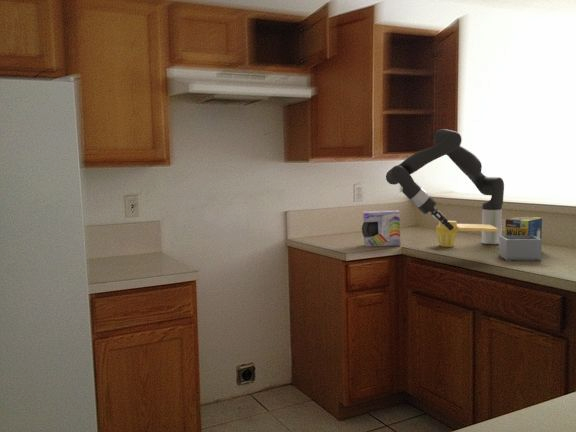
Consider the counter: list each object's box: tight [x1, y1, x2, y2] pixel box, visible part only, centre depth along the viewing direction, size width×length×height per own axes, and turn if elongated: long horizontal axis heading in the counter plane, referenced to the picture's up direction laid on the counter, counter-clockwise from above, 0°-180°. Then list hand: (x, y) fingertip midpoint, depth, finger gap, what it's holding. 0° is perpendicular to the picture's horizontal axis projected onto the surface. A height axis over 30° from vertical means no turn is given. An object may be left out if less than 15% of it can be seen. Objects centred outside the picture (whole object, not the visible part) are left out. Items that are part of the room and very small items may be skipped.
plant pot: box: [435, 225, 459, 248], centre depth 273 cm, size 10×10×10 cm
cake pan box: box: [361, 209, 402, 247], centre depth 278 cm, size 19×5×18 cm, turn 82°
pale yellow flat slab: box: [438, 220, 498, 232], centre depth 241 cm, size 14×23×3 cm, turn 83°
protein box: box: [504, 215, 543, 239], centre depth 250 cm, size 10×15×16 cm
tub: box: [498, 235, 543, 261], centre depth 236 cm, size 12×14×9 cm
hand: (451, 228), depth 242 cm, fingers closed on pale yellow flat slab, 4 cm apart
